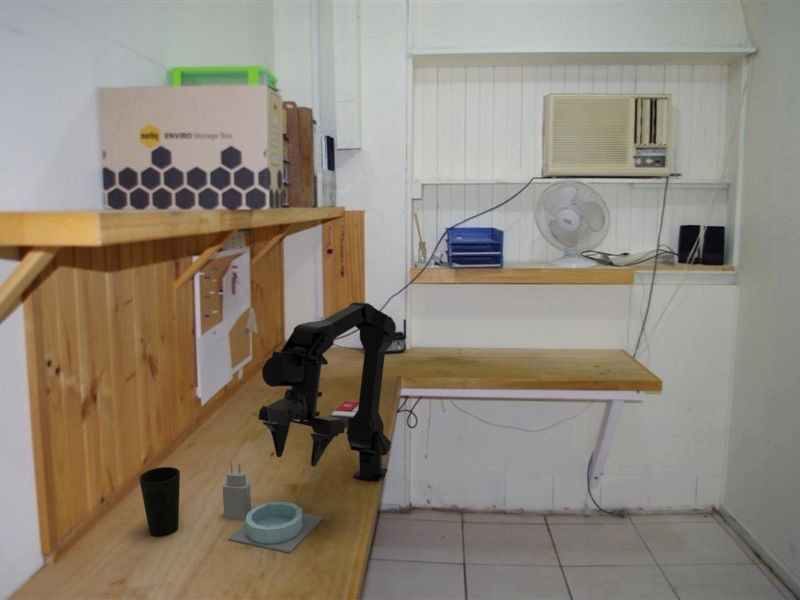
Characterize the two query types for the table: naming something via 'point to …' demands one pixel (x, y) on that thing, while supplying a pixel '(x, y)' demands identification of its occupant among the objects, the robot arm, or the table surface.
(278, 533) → the bowl
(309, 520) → the mat
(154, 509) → the cup
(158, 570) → the table surface
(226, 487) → the power adapter
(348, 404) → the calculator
